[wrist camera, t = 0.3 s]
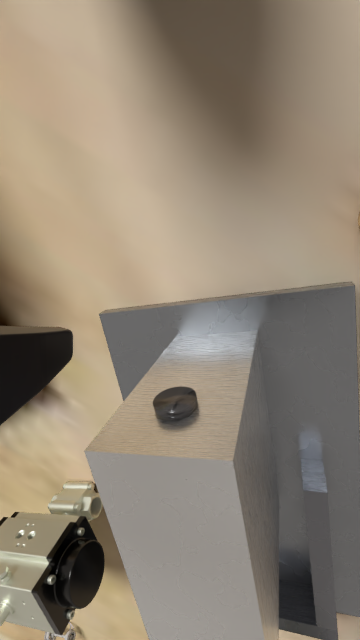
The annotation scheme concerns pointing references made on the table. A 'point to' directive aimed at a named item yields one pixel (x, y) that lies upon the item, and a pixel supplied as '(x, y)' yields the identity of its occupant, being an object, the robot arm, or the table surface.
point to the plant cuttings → (68, 637)
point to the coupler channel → (285, 427)
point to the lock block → (196, 492)
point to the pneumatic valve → (51, 560)
